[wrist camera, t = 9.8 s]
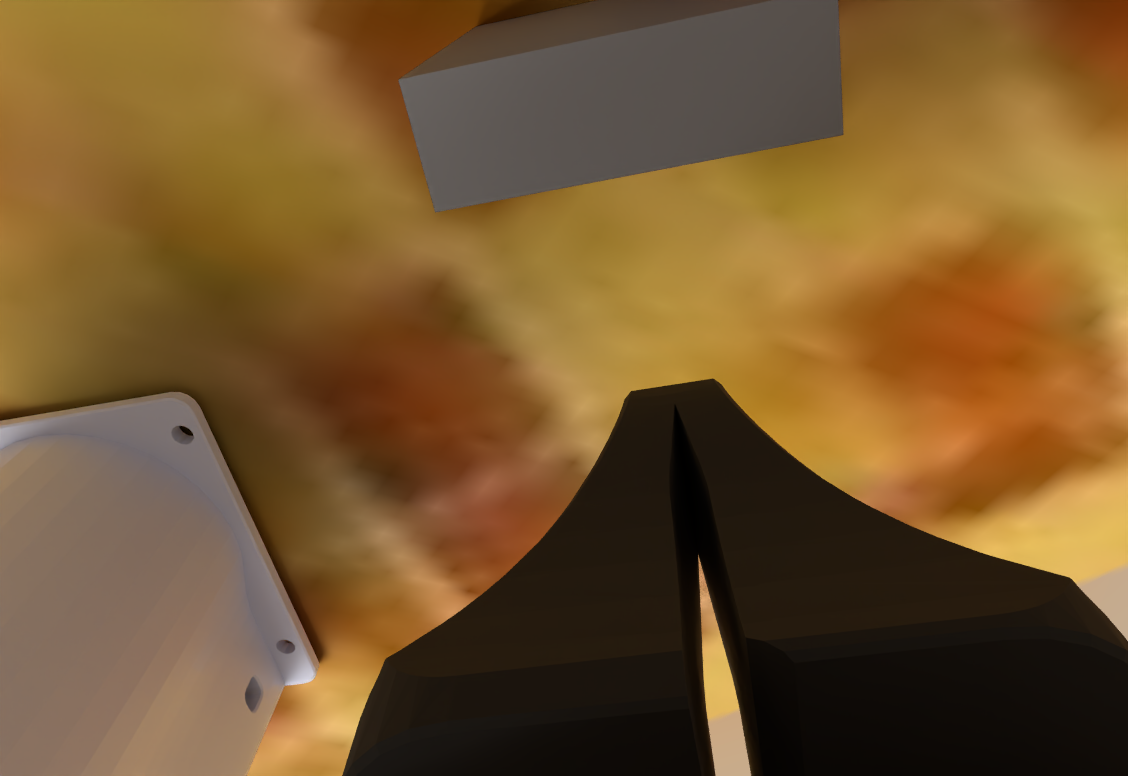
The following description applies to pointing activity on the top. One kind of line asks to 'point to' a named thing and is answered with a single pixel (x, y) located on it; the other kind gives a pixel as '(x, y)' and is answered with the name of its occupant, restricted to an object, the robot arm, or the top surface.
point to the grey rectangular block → (621, 93)
